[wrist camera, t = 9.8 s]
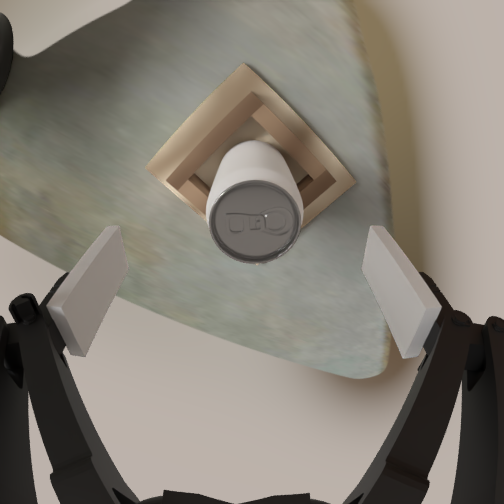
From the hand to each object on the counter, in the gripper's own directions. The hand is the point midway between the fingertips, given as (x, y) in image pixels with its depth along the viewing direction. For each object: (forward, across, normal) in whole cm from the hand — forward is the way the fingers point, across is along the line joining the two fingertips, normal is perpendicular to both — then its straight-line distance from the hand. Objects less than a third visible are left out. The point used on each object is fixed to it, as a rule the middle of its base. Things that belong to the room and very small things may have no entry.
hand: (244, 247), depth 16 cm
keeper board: (+16, 0, 0) cm, 16 cm away
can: (+16, +1, 0) cm, 16 cm away
